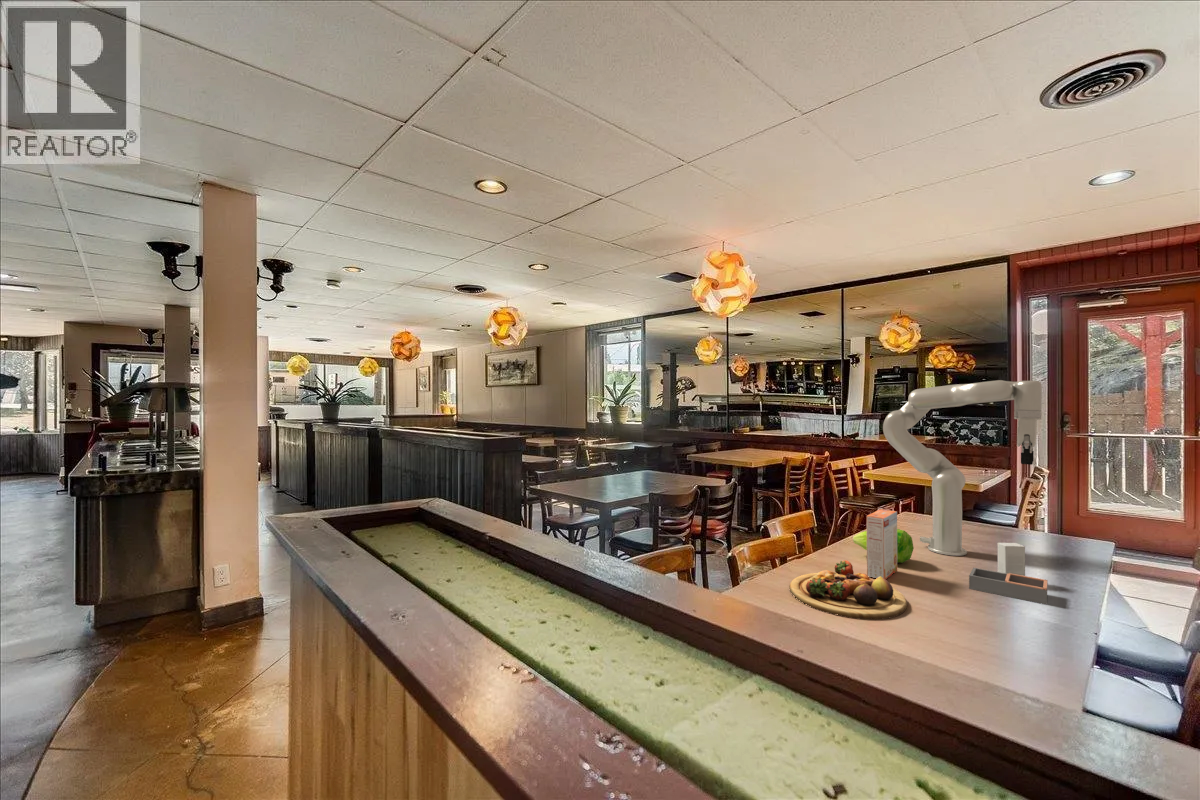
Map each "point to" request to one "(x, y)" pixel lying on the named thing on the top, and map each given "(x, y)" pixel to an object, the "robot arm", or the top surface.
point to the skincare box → (1011, 558)
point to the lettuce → (903, 544)
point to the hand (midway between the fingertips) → (1027, 462)
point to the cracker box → (881, 543)
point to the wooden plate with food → (848, 593)
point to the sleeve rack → (1009, 585)
